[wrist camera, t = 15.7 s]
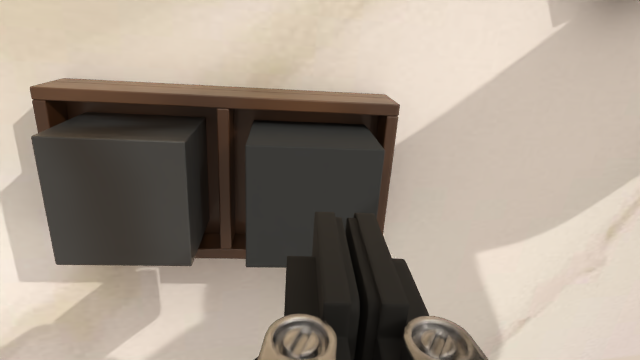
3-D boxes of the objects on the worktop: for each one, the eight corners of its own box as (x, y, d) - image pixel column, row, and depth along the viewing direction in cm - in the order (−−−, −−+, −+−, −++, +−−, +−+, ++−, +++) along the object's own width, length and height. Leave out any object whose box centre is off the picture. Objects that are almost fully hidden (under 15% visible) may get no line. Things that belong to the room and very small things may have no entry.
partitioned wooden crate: (386, 94, 19) (418, 117, 14) (369, 235, 22) (392, 293, 17) (62, 78, 18) (-18, 97, 13) (86, 230, 20) (27, 291, 16)
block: (365, 124, 18) (385, 149, 15) (355, 223, 20) (371, 268, 16) (253, 119, 18) (244, 145, 14) (253, 221, 20) (245, 267, 16)
